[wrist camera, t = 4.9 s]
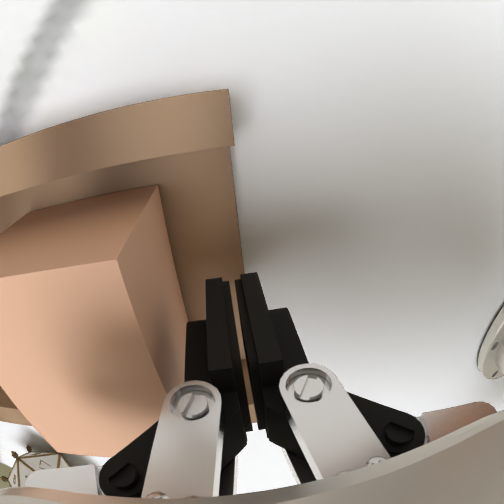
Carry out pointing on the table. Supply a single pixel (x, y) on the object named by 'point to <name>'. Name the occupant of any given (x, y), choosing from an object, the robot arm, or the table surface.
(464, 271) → the table surface
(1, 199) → the chute
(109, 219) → the block
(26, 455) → the game die
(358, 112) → the table surface
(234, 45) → the table surface
